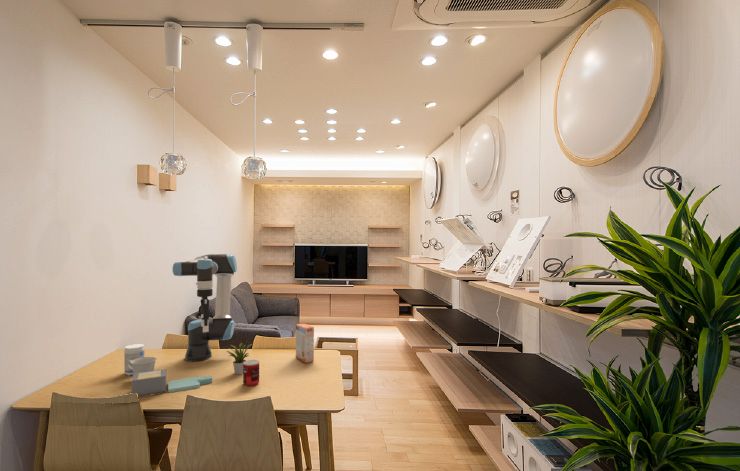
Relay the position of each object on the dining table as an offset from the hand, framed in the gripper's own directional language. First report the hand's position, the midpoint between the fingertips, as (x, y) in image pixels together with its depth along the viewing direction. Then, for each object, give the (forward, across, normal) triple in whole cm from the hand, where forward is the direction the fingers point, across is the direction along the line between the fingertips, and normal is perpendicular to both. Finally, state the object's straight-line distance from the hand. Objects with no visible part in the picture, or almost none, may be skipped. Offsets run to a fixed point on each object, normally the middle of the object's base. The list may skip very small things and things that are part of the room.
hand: (204, 329), depth 204 cm
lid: (+27, +4, -7) cm, 28 cm away
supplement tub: (+27, -29, -34) cm, 52 cm away
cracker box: (+27, -9, +57) cm, 64 cm away
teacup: (+27, -16, -30) cm, 43 cm away
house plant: (+27, -4, +19) cm, 33 cm away
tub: (+27, +4, -25) cm, 37 cm away
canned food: (+27, +16, +21) cm, 38 cm away
